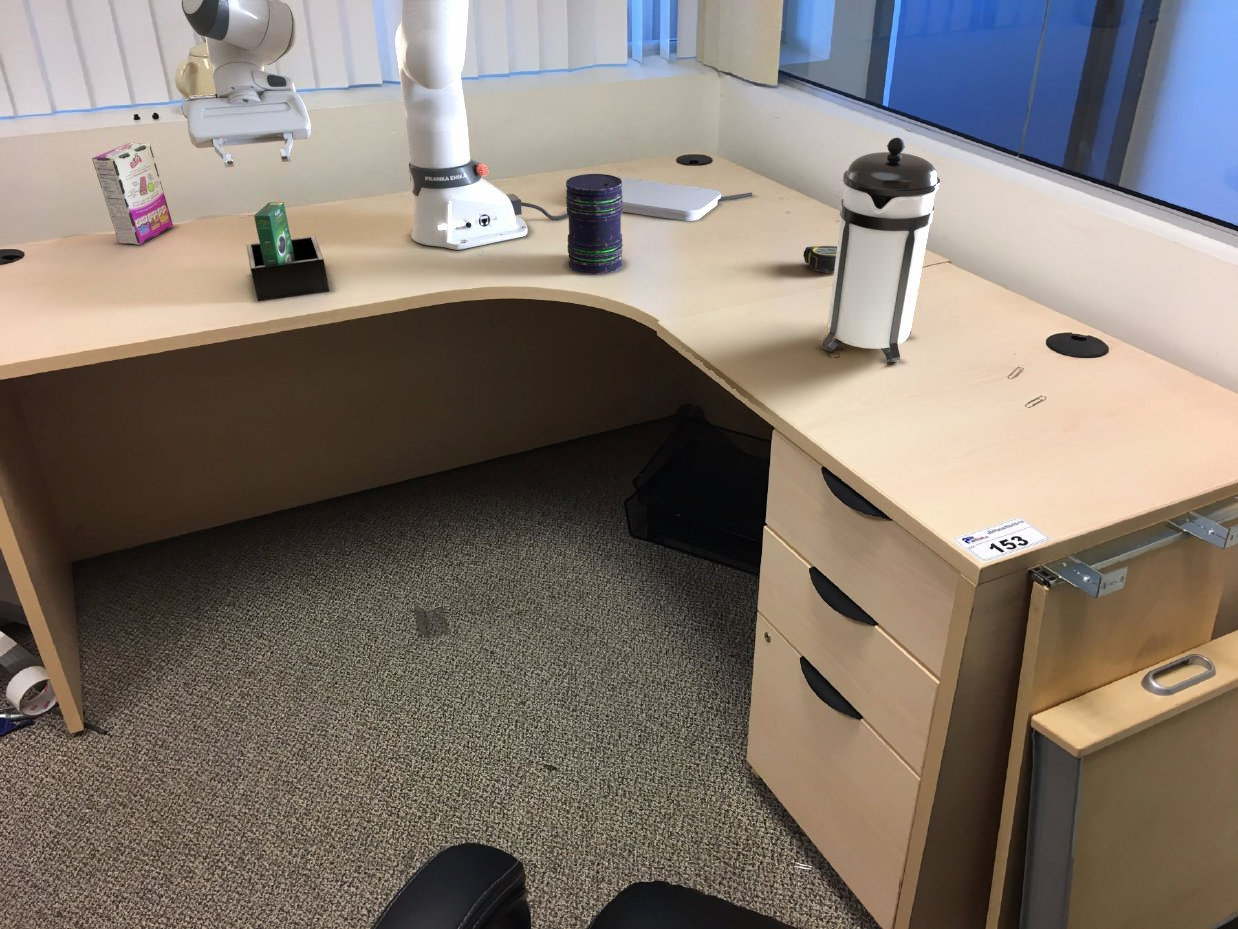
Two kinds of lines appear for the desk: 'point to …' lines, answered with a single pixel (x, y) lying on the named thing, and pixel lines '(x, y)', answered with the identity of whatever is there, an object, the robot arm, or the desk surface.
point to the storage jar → (594, 223)
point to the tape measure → (821, 258)
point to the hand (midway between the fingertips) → (257, 162)
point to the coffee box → (274, 234)
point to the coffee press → (880, 249)
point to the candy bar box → (133, 193)
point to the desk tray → (289, 271)
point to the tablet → (667, 199)
